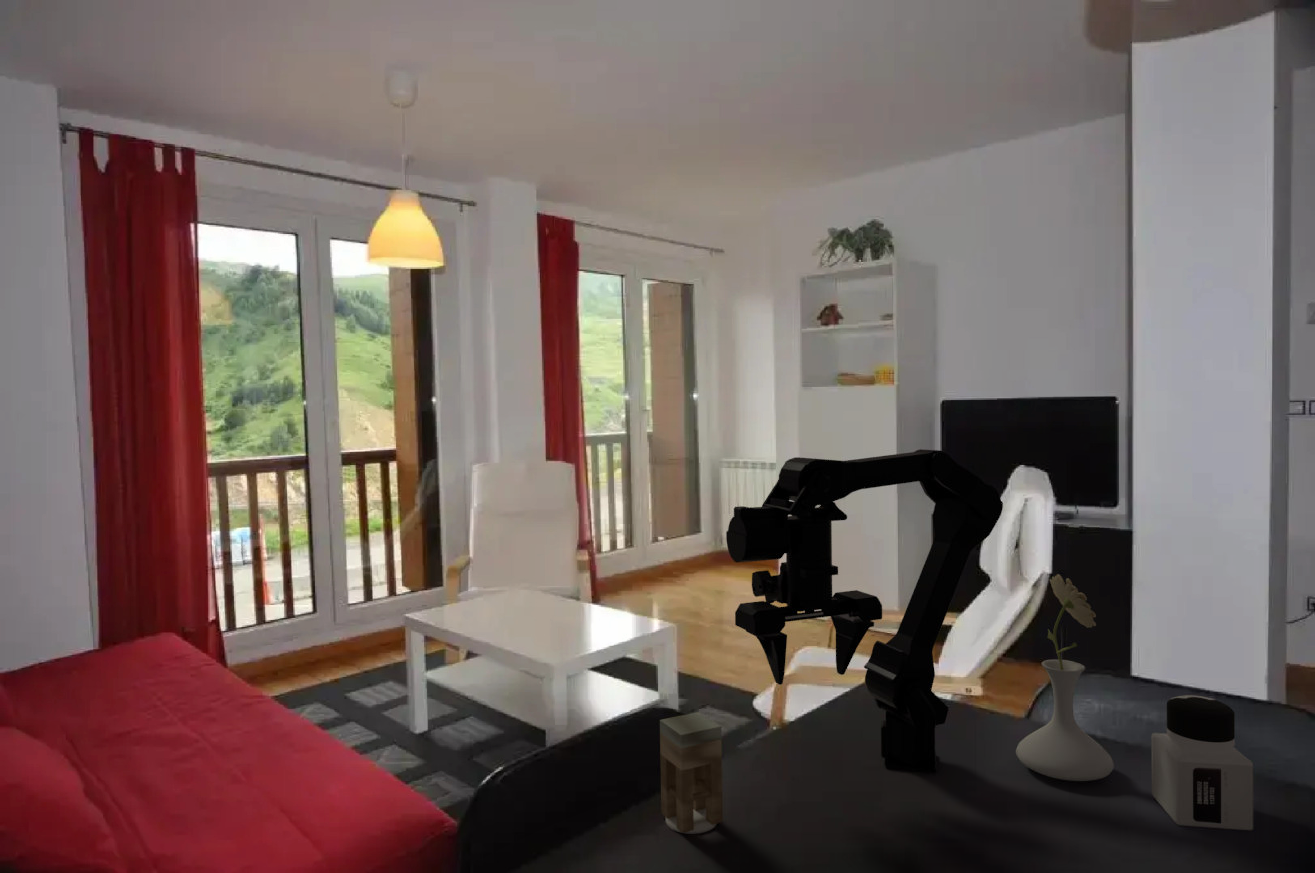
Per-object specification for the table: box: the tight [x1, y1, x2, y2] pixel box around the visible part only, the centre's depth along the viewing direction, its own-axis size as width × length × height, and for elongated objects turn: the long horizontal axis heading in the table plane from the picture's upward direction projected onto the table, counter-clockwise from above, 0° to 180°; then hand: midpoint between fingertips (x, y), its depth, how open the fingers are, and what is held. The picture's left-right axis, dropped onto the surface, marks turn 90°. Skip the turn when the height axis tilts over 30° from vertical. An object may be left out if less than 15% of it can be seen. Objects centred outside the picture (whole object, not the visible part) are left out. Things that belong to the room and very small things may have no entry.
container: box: [1151, 694, 1254, 831], centre depth 96 cm, size 8×8×13 cm
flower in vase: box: [1015, 573, 1115, 782], centre depth 108 cm, size 13×11×25 cm
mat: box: [665, 808, 718, 835], centre depth 96 cm, size 6×6×1 cm
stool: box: [659, 711, 724, 834], centre depth 96 cm, size 5×5×11 cm
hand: (810, 678), depth 106 cm, fingers open, 9 cm apart
